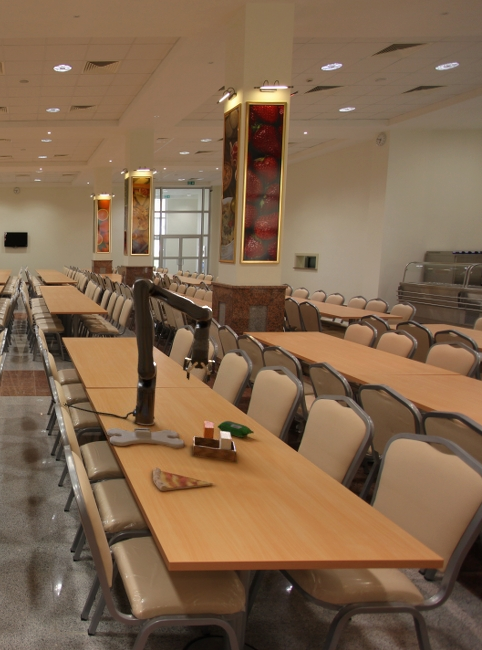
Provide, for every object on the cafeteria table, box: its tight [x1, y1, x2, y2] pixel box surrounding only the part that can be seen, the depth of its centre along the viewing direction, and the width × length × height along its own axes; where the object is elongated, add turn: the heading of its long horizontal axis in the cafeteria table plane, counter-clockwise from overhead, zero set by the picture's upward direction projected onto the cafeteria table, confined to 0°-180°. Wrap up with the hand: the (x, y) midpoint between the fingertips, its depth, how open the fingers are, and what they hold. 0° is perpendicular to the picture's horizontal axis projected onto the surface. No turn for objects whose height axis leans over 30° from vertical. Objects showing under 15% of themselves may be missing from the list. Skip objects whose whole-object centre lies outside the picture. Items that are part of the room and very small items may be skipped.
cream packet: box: [219, 430, 232, 450], centre depth 222 cm, size 4×9×9 cm, turn 160°
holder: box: [106, 427, 186, 449], centre depth 240 cm, size 19×34×5 cm, turn 86°
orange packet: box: [202, 420, 215, 439], centre depth 237 cm, size 4×9×9 cm, turn 160°
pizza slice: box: [152, 467, 214, 492], centre depth 194 cm, size 16×22×2 cm
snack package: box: [216, 420, 255, 438], centre depth 248 cm, size 7×16×5 cm, turn 35°
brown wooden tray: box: [192, 435, 237, 462], centre depth 224 cm, size 17×12×5 cm
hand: (197, 380), depth 245 cm, fingers open, 8 cm apart
